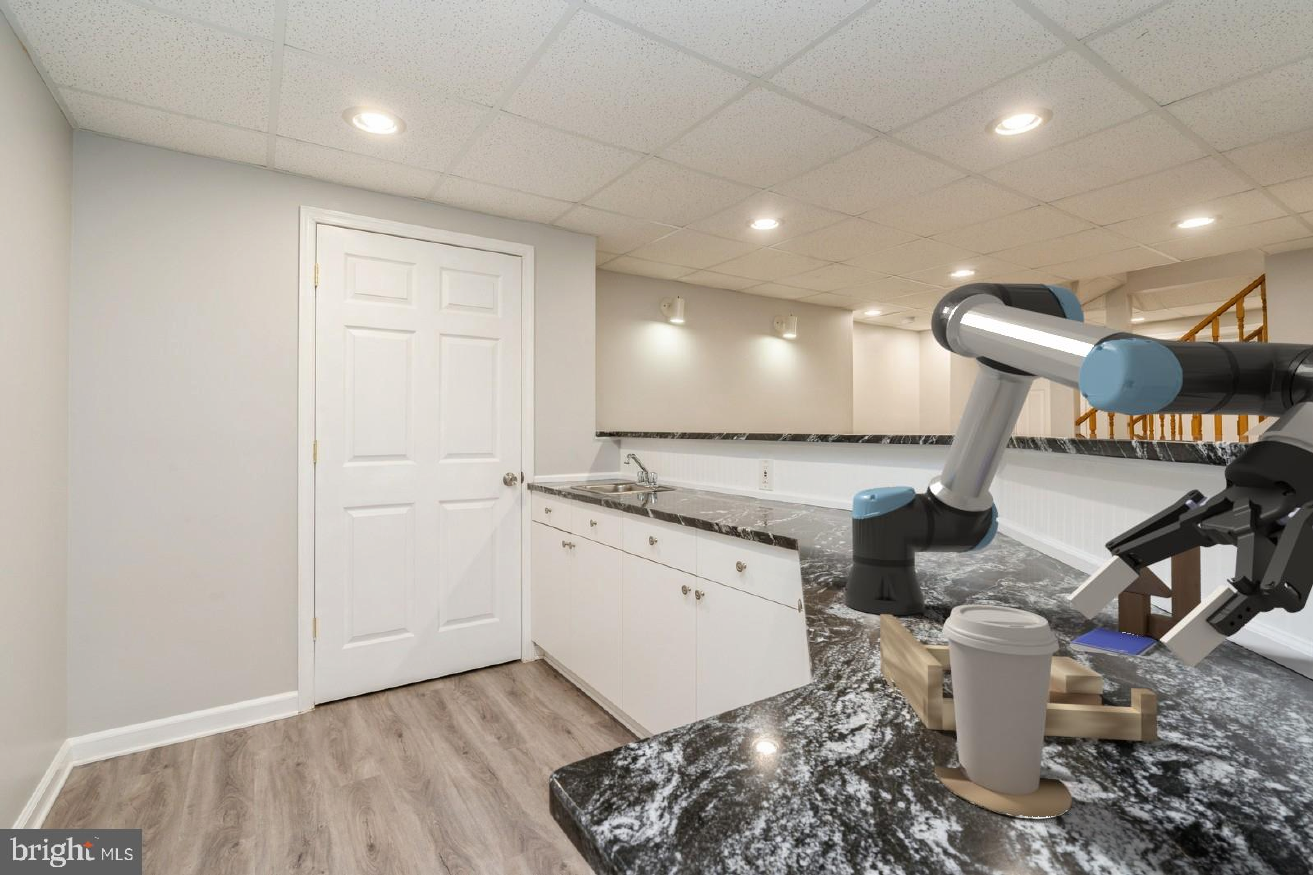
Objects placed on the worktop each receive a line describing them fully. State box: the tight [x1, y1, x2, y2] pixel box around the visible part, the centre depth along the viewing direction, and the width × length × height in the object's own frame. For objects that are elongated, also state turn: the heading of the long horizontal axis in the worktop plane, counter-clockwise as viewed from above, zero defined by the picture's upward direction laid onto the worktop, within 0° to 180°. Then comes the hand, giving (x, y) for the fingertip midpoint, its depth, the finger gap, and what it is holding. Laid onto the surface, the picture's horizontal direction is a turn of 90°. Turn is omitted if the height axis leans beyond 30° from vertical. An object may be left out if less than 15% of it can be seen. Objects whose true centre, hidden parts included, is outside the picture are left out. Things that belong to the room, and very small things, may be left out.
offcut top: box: [1050, 656, 1104, 695], centre depth 73 cm, size 4×6×2 cm, turn 175°
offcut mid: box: [1047, 682, 1103, 706], centre depth 73 cm, size 5×8×2 cm, turn 159°
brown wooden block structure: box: [1117, 546, 1202, 641], centre depth 100 cm, size 4×11×18 cm, turn 32°
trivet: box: [934, 765, 1072, 817], centre depth 56 cm, size 11×11×1 cm
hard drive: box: [1069, 627, 1157, 657], centre depth 96 cm, size 2×8×12 cm
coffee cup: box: [942, 604, 1060, 795], centre depth 57 cm, size 10×10×15 cm
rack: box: [879, 614, 1158, 743], centre depth 73 cm, size 22×20×8 cm
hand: (1120, 629), depth 56 cm, fingers open, 13 cm apart
